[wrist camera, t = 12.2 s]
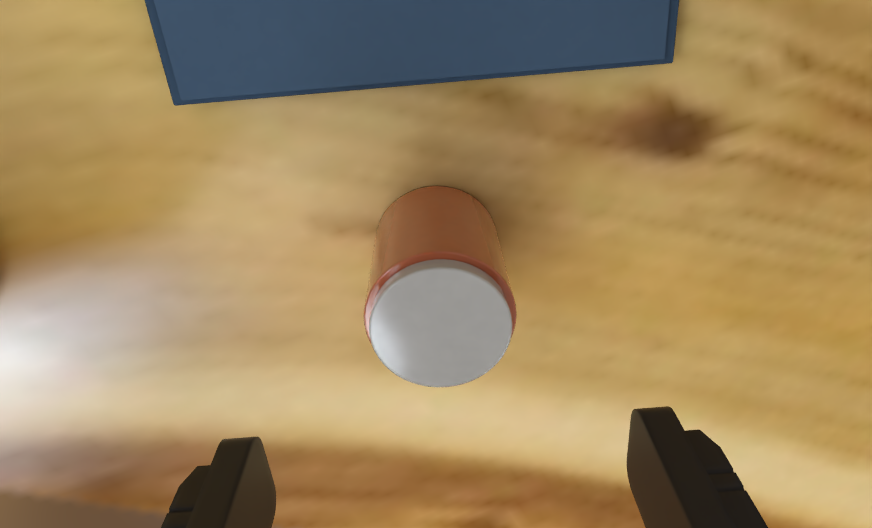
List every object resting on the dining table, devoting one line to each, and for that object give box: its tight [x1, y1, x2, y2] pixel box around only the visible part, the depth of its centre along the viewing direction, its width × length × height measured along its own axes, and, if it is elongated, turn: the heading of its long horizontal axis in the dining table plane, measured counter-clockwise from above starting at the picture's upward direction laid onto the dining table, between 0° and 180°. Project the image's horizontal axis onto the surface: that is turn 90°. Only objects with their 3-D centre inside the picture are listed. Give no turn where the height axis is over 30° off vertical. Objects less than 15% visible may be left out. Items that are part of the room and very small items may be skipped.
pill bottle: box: [364, 186, 516, 387], centre depth 20 cm, size 5×5×6 cm
